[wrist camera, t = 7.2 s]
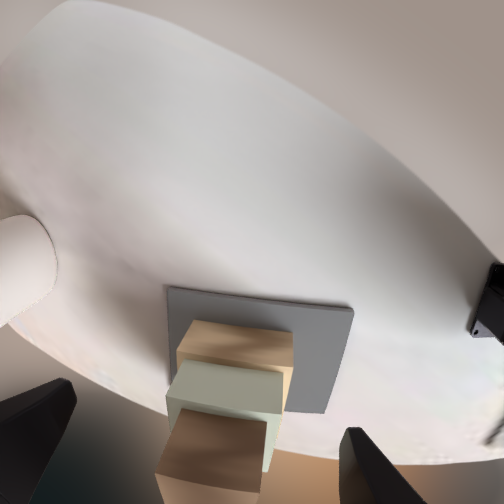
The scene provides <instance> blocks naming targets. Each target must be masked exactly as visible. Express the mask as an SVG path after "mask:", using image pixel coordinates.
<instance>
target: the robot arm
mask: <svg viewBox="0 0 504 504" xmlns="http://www.w3.org/2000/svg"><path fill="white" fill-rule="evenodd" d="M496 268H497V269H496ZM495 269H496V271H495ZM470 335H471V336H472V337H474V338H482V337H495V338H496V339H497V340H498V341H499V342H500V343H501V344H502V345H503V346H504V263H498V262H495V263H493V264H492V266H491V268H490V272H489V275H488V279H487V282H486V286H485V289H484V292H483V295H482V298H481V301H480V304H479V307H478V310H477V313H476V316H475V319H474V321H473V324H472V327H471V329H470ZM76 403H77V397H76V394H75V391H74V389H73V386H72V383H71V382H70V381H69V380H67V379H64V378H58V379H56V380H53V381H51V382H48V383H45V384H43V385H41V386H38V387H36V388H33V389H31V390H28V391H26V392H24V393H21V394H18V395H16V396H13V397H11V398H8V399H6V400H3V401H0V504H28V503H29V501H30V499H31V497H32V495H33V493H34V491H35V489H36V487H37V485H38V483H39V480H40V479H41V477H42V475H43V473H44V471H45V469H46V467H47V465H48V463H49V461H50V459H51V457H52V455H53V453H54V451H55V450H56V448H57V446H58V444H59V442H60V440H61V438H62V436H63V434H64V432H65V430H66V427H67V425H68V422H69V420H70V417H71V415H72V413H73V410H74V408H75V406H76ZM339 495H340V504H427V503H426V502H425V501H423V499H422V498H421V496H420V495H419V494H418V493H417V492H416V491H415V490H414V488H413V487H412V486H411V485H410V484H409V483H408V482H407V481H406V479H405V478H404V477H403V476H402V475H401V474H400V473H399V471H398V470H397V469H396V468H395V467H394V466H393V464H392V463H391V462H390V461H389V460H388V459H387V457H386V456H385V455H384V454H383V453H382V452H381V450H380V449H379V448H378V447H377V446H376V445H375V443H374V442H373V441H372V440H371V439H370V438H369V436H368V435H367V434H366V433H365V432H364V430H363V429H362V428H360V427H348V428H347V429H346V431H345V433H344V436H343V438H342V440H341V443H340V447H339Z"/></svg>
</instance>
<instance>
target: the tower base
mask: <svg viewBox="0 0 504 504" xmlns="http://www.w3.org/2000/svg"><path fill="white" fill-rule="evenodd" d="M176 355H177V372H178V370H179V368H180V366H181V364H182V362H183V360H184V359H190V360H195V361H201V362H206V363H212V364H218V365H225V366H231V367H238V368H245V369H253V370H261V371H270V372H279V373H284V375H283V403H282V416H283V412H284V408H285V404H286V399H287V395H288V390H289V386H290V381H291V377H292V372H293V333H292V332H283V331H274V330H265V329H257V328H249V327H241V326H234V325H227V324H220V323H213V322H207V321H200V320H193V322H192V324H191V325H190V327H189V329H188V331H187V332H186V334H185V336H184V338H183V339H182V341H181V343H180V345H179V347H178V348H177V350H176ZM281 421H282V417H281ZM281 421H280V425H281ZM280 425H279V429H280ZM279 429H278V433H279ZM278 433H277V437H278ZM277 437H276V439H277Z"/></svg>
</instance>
